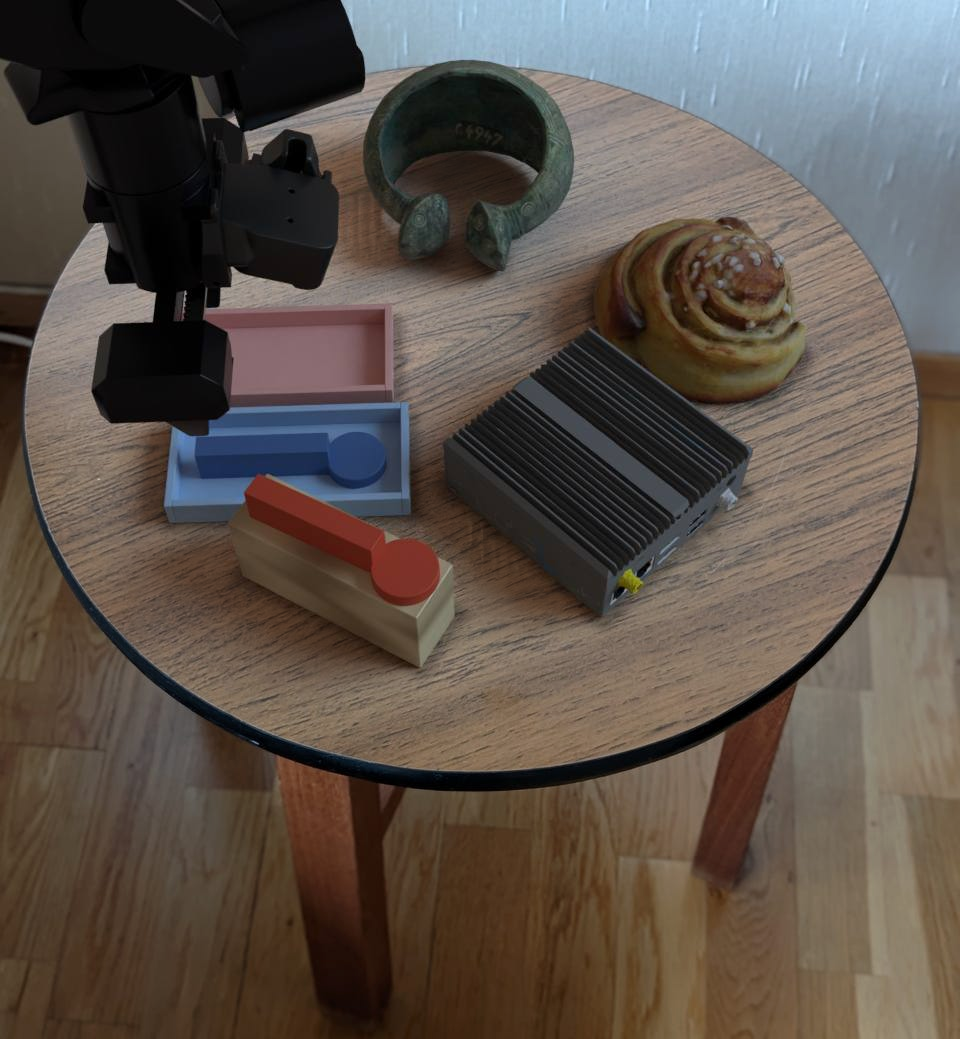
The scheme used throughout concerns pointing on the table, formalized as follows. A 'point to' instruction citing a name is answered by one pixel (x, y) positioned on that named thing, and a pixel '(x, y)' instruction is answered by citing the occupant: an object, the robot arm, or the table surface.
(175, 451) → the blue tray
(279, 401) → the rose tray
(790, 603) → the table surface
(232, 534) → the wooden rectangular block
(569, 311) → the table surface
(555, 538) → the electronic device
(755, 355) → the pastry
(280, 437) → the blue paddle
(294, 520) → the red spoon
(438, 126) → the bracelet
